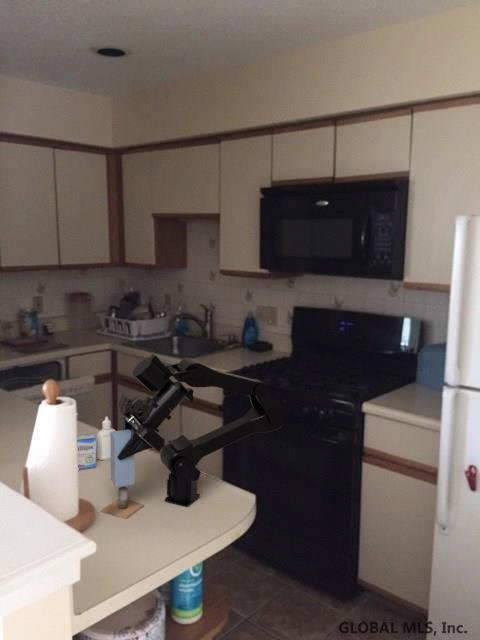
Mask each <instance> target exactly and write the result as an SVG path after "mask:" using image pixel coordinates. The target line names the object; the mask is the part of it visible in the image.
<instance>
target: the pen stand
mask: <svg viewBox="0 0 480 640" xmlns="http://www.w3.org/2000/svg"><path fill="white" fill-rule="evenodd" d="M117 488H118V489H117V490H118V491H117V495H118V496H117V499H116V500H114V501H112V502H111V503H109V504H108V505H106V506H105V507H103V508H102V509H100V512H101V513H103V514H108V515H110V516H115V517H118V518H121V519H125V520H127V519H129V518H130V517H132V516H133V515H134V514H136V513H137V512H139V511H140V510H141V509H142V508H144V507H145V503H141V502H137V501H133V500H131V499H130V500H129V488H128V487H127V486H119V487H117Z"/></svg>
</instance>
